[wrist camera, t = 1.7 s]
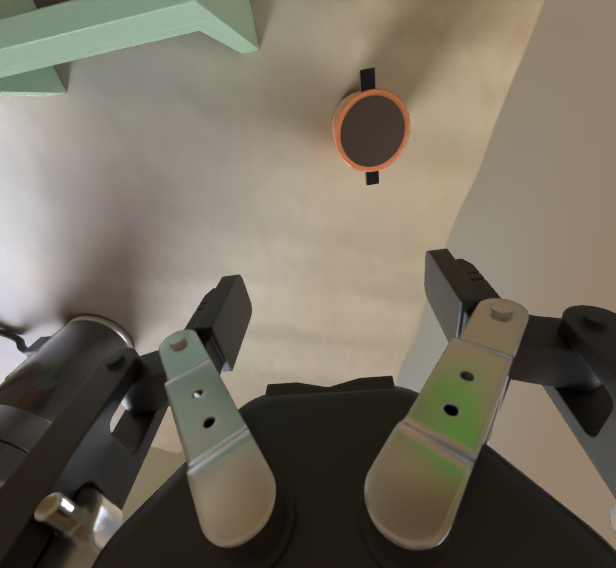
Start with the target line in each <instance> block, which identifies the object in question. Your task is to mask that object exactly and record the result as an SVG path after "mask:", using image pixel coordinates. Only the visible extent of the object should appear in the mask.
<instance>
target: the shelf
mask: <svg viewBox="0 0 616 568" xmlns="http://www.w3.org/2000/svg"><path fill="white" fill-rule="evenodd" d="M196 31H201V32H203V33H205V34H206V35H208V36H210V37H212V38H214V39H215V40H217V41H219V42H221V43H223V44H225V45H226V46H228V47H230V48H232V49H234V50H236V51H237V52H239V53H241V54H244V53H248V52H253V51H257V50H259V45H258V40H257V35H256V30H255V25H254V20H253V15H252V10H251V5H250V0H0V96H55V95H60V94H64V93H67V92H66V90H65V88H64V86H63V84H62V82H61V80H60V78H59V76H58V74H57V72H56V70H55V68H54V66H53V65H57V64H61V63H65V62H69V61H73V60H78V59H82V58H86V57H90V56H95V55H99V54H103V53H107V52H111V51H116V50H120V49H124V48H128V47H133V46H137V45H141V44H145V43H149V42H154V41H158V40H162V39H166V38H171V37H175V36H179V35H183V34H187V33H192V32H196Z"/></svg>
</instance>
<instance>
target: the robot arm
mask: <svg viewBox="0 0 616 568" xmlns="http://www.w3.org/2000/svg"><path fill="white" fill-rule="evenodd" d="M424 286H425V293H426V296H427V299H428V301H429V303H430V305H431V307H432V309H433V311H434V313H435V315H436V317H437V320H438V322H439V324H440V326H441V328H442V330H443V332H444V334H445V336H446V338H447V340H448V343H449V344H448V345H447V347H446V349H445V351H444V352H443V354H442V356H441V358H440V359H439V361H438V362H437V364H436V366H435V368H434V370H433V371H432V373H431V374H430V376H429V378H428V380H427V381H426V383H425V385H424V387H423V388H422V390H421V392H420V393H417V392H415V391H412V390H410V389H407V388H403V387H398V386H394V382H393V377H392V376H382V377H368V378H359V379H355V380H352V381H348V382H345V383H341V384H338V385H335V386H331V387H322V386H316V385H309V384H303V383H297V382H296V383H282V384H268V385H267V390H266V395H263V396H260V397H258V398H255V399H253V400H252V401H250V402H248V403H247V404H245V405H244V406H242V407H241V408H240V409H237V407H236V405H235V403H234V401H233V399H232V398H231V396H230V394H229V392H228V390H227V388H226V386H225V385H224V383H223V381H222V379H221V377H220V374H221V372H226V371H232V370H233V367H234V364H235V362H236V359H237V356H238V353H239V350H240V347H241V344H242V341H243V338H244V335H245V332H246V330H247V327H248V324H249V321H250V318H251V315H252V306H251V301H250V299H249V296H248V293H247V290H246V287H245V284H244V281H243V279H242V277H241V276H240V275H232V276H224V277H222V278H221V280H220V282H219V284H218V285H217V287H216V288H214V289H212V290H211V291H210V292H209V293H207V294H206V295H205V296H204V298H203V300H202V301H201V303H200V305H199V306H198V308H197V309H196V310H197V311H195V313H194V314H193V316H192V318H191V319H190V321H189V323H188V324H187V326H186V328H185V329H184V330H181V331H178V332H176V333H173V334H172V335H170V336H168V337H167V338H166V339H165V340H164V341H163V342H162V343H161V345H160V346H159V350H158V351H155V352H152V353H149V354H145V355H142V356H139V355H138V353H137V352H136V350H135V349H133V343H132V340H131V338H130V337H129V335H128V334H127V333H126V332H125V331H124V330H123V329H122V328H121V327H120V326H118V325H117V324H115V323H113V322H112V321H110V320H107V319H105V318H102V317H98V316H93V315H82V316H78V317H75V318H73V319H72V320H71V321H70V322H69V323H67V324H66V325H65V327H62V328H61V329H60V330H59V331H57V332H56V333H55V334H54V335H53V336H48V337H40V338H39V339H38V340H37V341H36V342H35V343H33V344H32V345H31V346H30V347H29V348H28V347H26V345H25V342H24V340H23V339H22V338H21V337H20V336H18V335H16V334H14V333H11V332H9V331H6V330H2V329H0V336H3V337H6V338H8V339H11V340H13V341H14V342H16V345H17V349H18V350H19V351H21V352H22V353H24V354H26V355H27V357H28V358H27V359H26V360H25V361H24V362H23V363H22V364H20V365H19V366H18V367H17V368H16V369H15V370H14V371H13V372H11V373H10V374H9V375H8V376H7V377H6V378H5V381H4V382H3V383H2V384H1V385H0V568H616V550H615V549H614V548H612V546H611V545H610V544H609V543H608V542H607V541H606V540H605V539H604V538H603V537H602V536H600V535H599V534H598V533H597V532H596V531H595V530H594V529H592V528H591V527H590V526H589V525H587V524H586V523H585V522H584V521H583V520H581V519H580V518H579V517H578V516H576V515H575V514H574V513H572V512H571V511H570V510H569V509H567V508H566V507H565V506H564V505H562V504H561V503H560V502H559V501H557V500H556V499H555V498H554V497H552V496H551V495H550V494H549V493H547V492H546V491H545V490H544V489H542V488H541V487H540V486H539V485H537V484H536V483H535V482H534V481H532V480H531V479H530V478H528V477H527V476H526V475H525V474H524V473H522V472H521V471H520V470H518V469H517V468H516V467H515V466H513V465H512V464H511V463H510V462H508V461H507V460H506V459H505V458H503V457H502V456H501V455H500V454H498V453H497V452H496V451H495V450H493V449H492V448H491V447H490V446H489V444H490V441H491V437H492V434H493V431H494V428H495V425H496V422H497V419H498V416H499V413H500V410H501V407H502V405H503V402H504V399H505V396H506V393H507V390H508V387H509V384H510V381H511V379H512V380H518V381H524V382H529V383H534V384H540V385H543V387H544V389H545V390H546V392H547V393H548V395H549V396H550V398H551V399H552V401H553V403H554V404H555V406H556V407H557V409H558V410H559V412H560V413H561V415H562V417H563V418H564V420H565V421H566V423H567V424H568V426H569V427H570V429H571V431H572V432H573V434H574V435H575V437H576V438H577V440H578V441H579V443H580V445H581V446H582V448H583V449H584V451H585V452H586V454H587V455H588V457H589V458H590V460H591V461H592V463H593V464H594V466H595V468H596V469H597V471H598V472H599V474H600V475H601V477H602V479H603V480H604V482H605V483H606V485H607V486H608V488H609V489H610V491H611V493H612V494H613V496H614V497H615V499H616V313H613V312H611V311H609V310H606V309H603V308H599V307H594V306H585V305H581V306H580V305H579V306H572V307H569V308H567V309H566V310H565V311H564V312H563V315H562V318H551V317H541V316H533V315H529V313H528V311H527V310H526V309H525V308H524V307H523V306H522V305H520V304H518V303H516V302H514V301H511V300H507V299H501V298H500V296H499V295H498V294H497V293H496V292H495V290H494V289H493V288H492V287H491V286H490V284H489V283H488V282H487V281H486V280H484V277H483V276H482V275H481V274H480V273H479V271H478V270H477V269H476V268H475V267H474V265H473V264H471V263H469V262H467V261H465V260H463V259H454V257H453V256H452V254H451V253H450V252H449V251H448V249H439V250H431V251H427V252H426V257H425V281H424ZM120 404H121V405H122V406H123V407H124V408H125V412H124V413H123V415H122V417H121V418H120V420H119V422H118V424H117V425H116V427H115V429H114V431H113V432H112V433H111V431H110V421H111V418H112V416H113V415H114V413H115V411H116V410H117V408H118V406H119V405H120ZM168 406H170V407H171V410H172V414H173V417H174V421H175V424H176V428H177V431H178V435H179V438H180V442H181V445H182V449H183V452H184V455H185V459H186V462H185V463H184V464H183V465H182V466H181V467H180V468H179V469H178V470H177V471H176V472H175V473H174V474H173V475H172V476H171V477H170V478H169V479H168V480H167V481H166V482H165V483H164V484H163V485H162V486H161V487H160V488H159V489H158V490H157V491H156V492H155V493H154V494H153V495H152V496H151V497H150V498H149V499H148V500H147V501H146V502H145V503H144V504H143V505H142V506H141V507H140V508H139V509H138V510H137V511H136V512H135V513H134V514H133V515H132V516H131V517H130V518H129V519H128V520H127V521H126V522H125V523H124V524H123V525H122V522H123V515H122V512H121V510H122V508H123V506H124V504H125V502H126V499H127V497H128V495H129V493H130V491H131V488H132V486H133V484H134V481H135V479H136V477H137V475H138V472H139V470H140V468H141V466H142V464H143V461H144V459H145V457H146V455H147V453H148V450H149V448H150V446H151V444H152V441H153V439H154V437H155V435H156V433H157V430H158V428H159V426H160V424H161V421H162V419H163V417H164V415H165V412H166V410H167V408H168ZM610 521H611V525H612V529H613V531H614V533H615V535H616V504H615V505H614V506H613V508H612V510H611V513H610Z"/></svg>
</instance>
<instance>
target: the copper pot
mask: <svg viewBox="0 0 616 568" xmlns="http://www.w3.org/2000/svg"><path fill="white" fill-rule="evenodd" d="M359 77H360V91H357V92H354V93H351V94H350V95H348V96H347V97H345V98H344V99H343V100H342V101H341V102H340V103H339V105H338V106H337V108H336V110H335V112H334V115H333V119H332V134H333V137H334V141H335V144H336V147H337V150H338V152H339V154H340V156H341V158H342V159H343V160H344V161H345V162H346V163H347V164H348V165H349V166H350V167H352V168H354V169H356V170H359V171H363V172H365V176H366V184H367V185H372V184H378V183H379V170H381V169H383V168H385V167H387V166H389V165H390V164H392V163H393V162H394V161H395V160H396V159H397V158H398V157H399V156H400V154H401V153H402V151H403V150H404V148H405V146H406V144H407V141H408V138H409V133H410V119H409V114H408V111H407V109H406V107H405V105H404V103H403V102H402V100H401V99H400V98H399V97H398V96H396V95H395V94H394V93H392V92H390V91H387V90H384V89H375V68H369V69H364V70H360V71H359Z"/></svg>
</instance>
